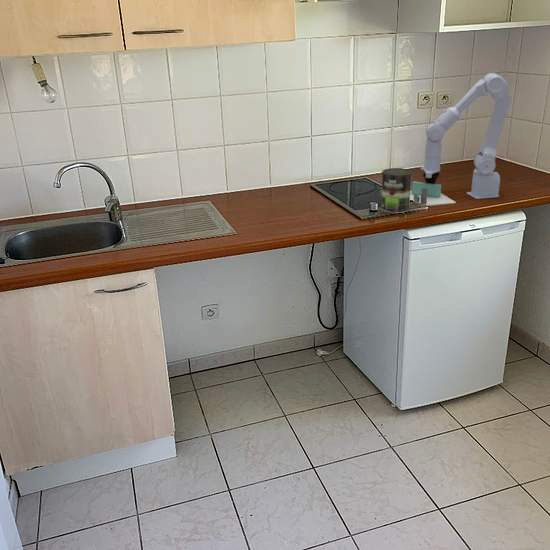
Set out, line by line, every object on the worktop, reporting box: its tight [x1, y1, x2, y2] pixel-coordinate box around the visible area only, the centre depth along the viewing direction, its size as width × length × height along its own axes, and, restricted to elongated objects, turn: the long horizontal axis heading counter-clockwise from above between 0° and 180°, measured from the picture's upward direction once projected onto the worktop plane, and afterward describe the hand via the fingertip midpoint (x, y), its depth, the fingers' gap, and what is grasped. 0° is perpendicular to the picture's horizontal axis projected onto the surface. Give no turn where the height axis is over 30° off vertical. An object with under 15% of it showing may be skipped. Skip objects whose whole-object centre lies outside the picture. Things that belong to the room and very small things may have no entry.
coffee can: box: [380, 167, 413, 214], centre depth 207 cm, size 10×10×14 cm
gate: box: [411, 180, 442, 197], centre depth 222 cm, size 2×11×4 cm, turn 56°
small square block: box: [414, 188, 428, 205], centre depth 215 cm, size 3×6×6 cm, turn 10°
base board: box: [410, 190, 457, 207], centre depth 222 cm, size 15×19×1 cm
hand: (430, 191), depth 224 cm, fingers closed
